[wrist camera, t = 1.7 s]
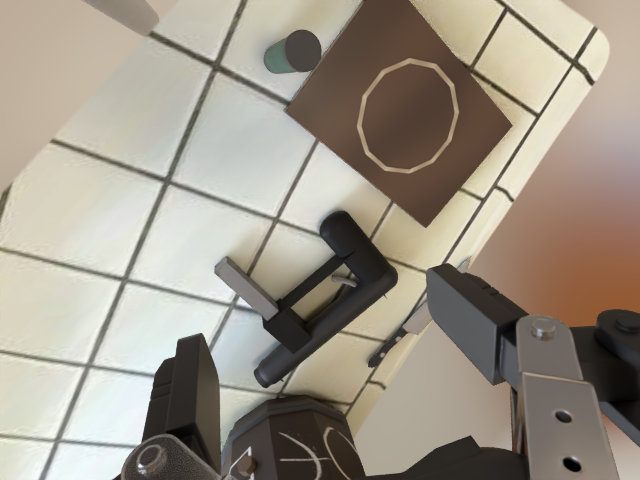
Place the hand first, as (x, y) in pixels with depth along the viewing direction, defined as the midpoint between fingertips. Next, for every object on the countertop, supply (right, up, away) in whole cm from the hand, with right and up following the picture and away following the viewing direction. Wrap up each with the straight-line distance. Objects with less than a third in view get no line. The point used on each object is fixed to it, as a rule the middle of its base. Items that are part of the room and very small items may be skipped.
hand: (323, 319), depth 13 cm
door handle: (-3, -2, +29) cm, 29 cm away
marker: (-4, +18, +19) cm, 27 cm away
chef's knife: (+13, -7, +35) cm, 38 cm away
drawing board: (+8, +15, +24) cm, 30 cm away
